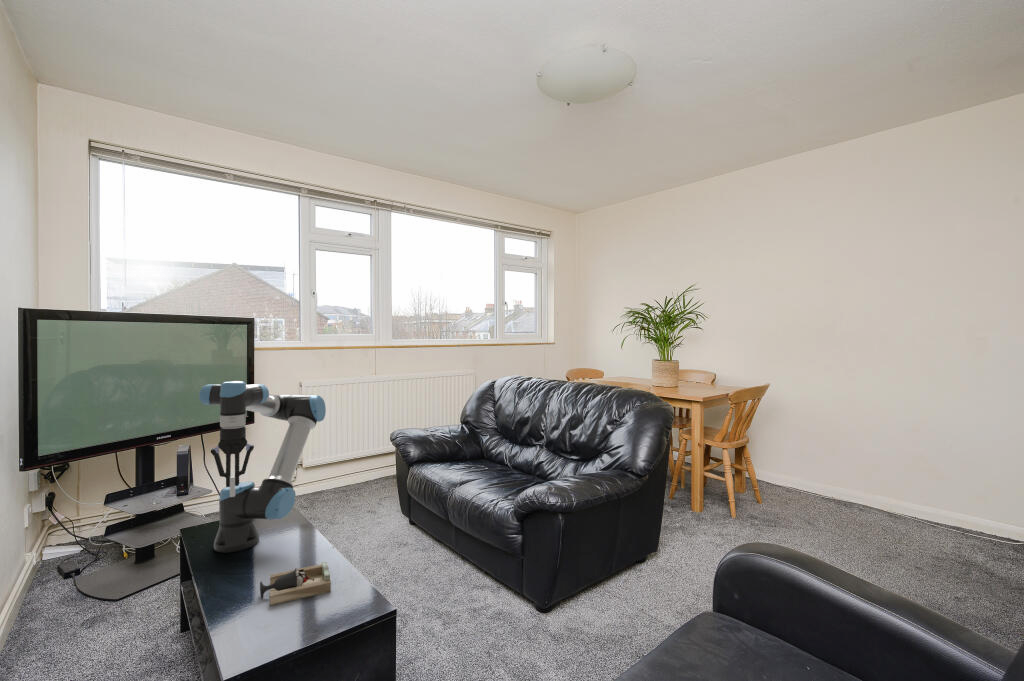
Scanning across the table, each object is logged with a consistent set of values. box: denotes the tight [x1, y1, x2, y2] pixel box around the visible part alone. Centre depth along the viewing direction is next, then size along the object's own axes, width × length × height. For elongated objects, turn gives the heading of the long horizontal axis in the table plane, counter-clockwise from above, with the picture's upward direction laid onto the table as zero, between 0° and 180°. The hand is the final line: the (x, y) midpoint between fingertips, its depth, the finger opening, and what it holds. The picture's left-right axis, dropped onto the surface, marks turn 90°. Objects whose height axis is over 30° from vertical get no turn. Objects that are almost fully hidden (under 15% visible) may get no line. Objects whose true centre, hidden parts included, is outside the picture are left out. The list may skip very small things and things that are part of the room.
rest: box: [269, 561, 332, 607], centre depth 146 cm, size 14×17×4 cm
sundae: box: [259, 568, 314, 599], centre depth 144 cm, size 7×7×15 cm
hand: (232, 495), depth 155 cm, fingers closed
